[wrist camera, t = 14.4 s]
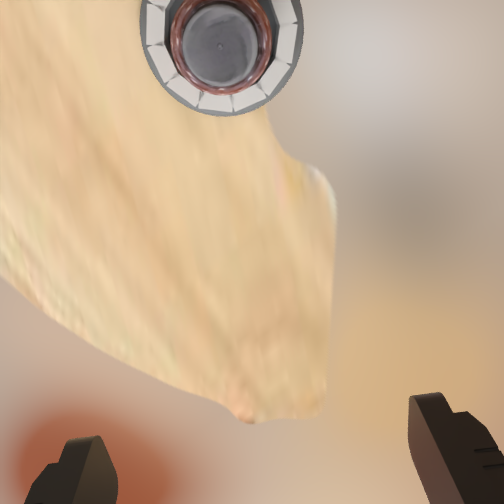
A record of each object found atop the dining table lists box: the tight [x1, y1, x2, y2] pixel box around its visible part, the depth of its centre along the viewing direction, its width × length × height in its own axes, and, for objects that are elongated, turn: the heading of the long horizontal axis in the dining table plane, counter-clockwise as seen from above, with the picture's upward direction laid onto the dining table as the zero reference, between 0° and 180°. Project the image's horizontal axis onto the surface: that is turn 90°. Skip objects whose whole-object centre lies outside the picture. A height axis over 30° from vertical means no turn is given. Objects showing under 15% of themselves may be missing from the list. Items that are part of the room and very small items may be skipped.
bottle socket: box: [140, 0, 304, 116], centre depth 33 cm, size 12×12×4 cm
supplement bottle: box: [170, 0, 272, 96], centre depth 29 cm, size 6×6×11 cm
